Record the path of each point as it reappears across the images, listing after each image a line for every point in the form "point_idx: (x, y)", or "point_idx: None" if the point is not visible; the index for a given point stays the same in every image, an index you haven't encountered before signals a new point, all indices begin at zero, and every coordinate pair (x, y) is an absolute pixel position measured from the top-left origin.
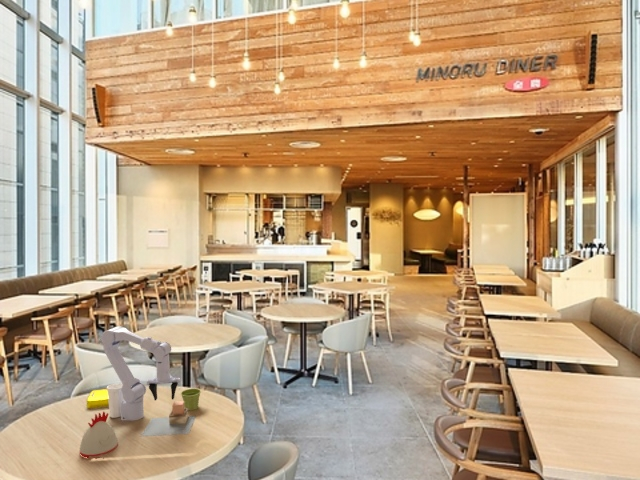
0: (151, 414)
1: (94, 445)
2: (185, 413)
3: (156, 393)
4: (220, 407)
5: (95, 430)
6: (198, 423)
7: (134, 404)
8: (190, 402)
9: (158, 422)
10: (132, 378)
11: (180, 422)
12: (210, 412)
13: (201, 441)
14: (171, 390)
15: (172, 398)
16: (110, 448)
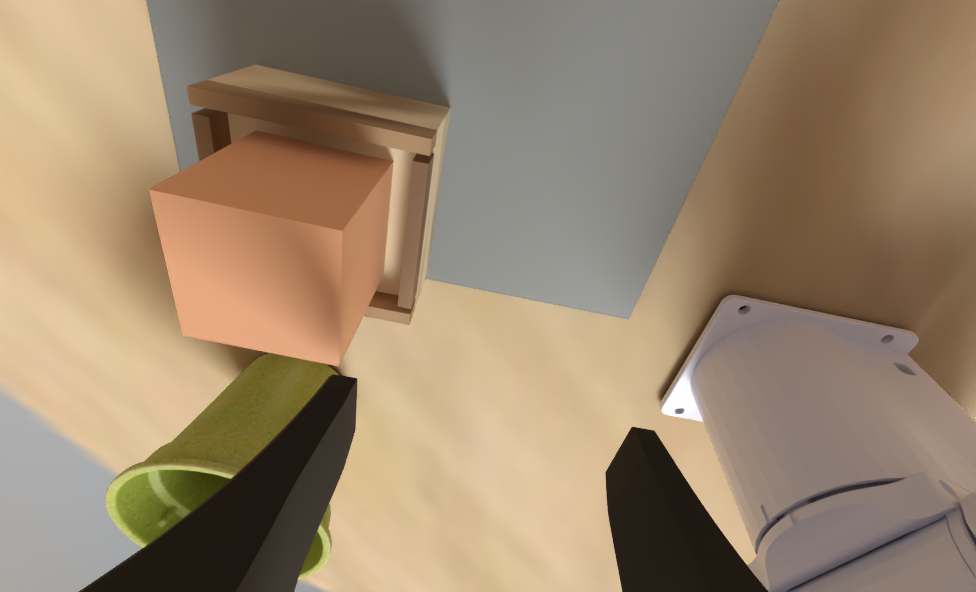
0: (616, 404)
1: None
2: (194, 127)
3: (631, 565)
4: (64, 354)
5: None
6: (127, 71)
7: (901, 464)
8: (245, 411)
9: (573, 196)
10: None
11: (308, 78)
12: (109, 293)
13: None
14: (259, 544)
15: (335, 385)
16: None
